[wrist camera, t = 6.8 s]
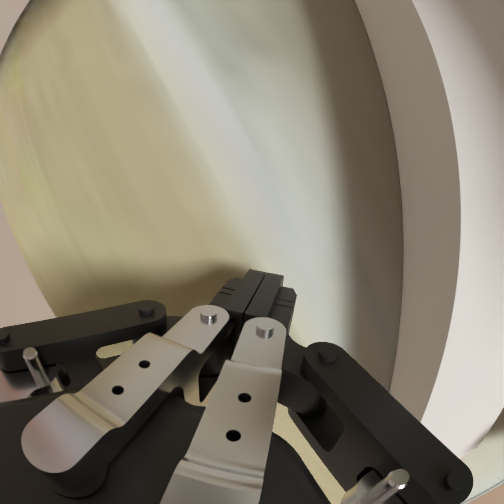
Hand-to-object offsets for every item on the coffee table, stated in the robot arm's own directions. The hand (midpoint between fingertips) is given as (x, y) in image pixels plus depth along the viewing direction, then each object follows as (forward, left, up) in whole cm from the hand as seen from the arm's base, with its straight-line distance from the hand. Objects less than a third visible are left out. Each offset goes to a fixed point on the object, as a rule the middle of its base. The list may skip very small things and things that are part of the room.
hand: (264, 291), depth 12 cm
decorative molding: (-2, +12, -3) cm, 12 cm away
